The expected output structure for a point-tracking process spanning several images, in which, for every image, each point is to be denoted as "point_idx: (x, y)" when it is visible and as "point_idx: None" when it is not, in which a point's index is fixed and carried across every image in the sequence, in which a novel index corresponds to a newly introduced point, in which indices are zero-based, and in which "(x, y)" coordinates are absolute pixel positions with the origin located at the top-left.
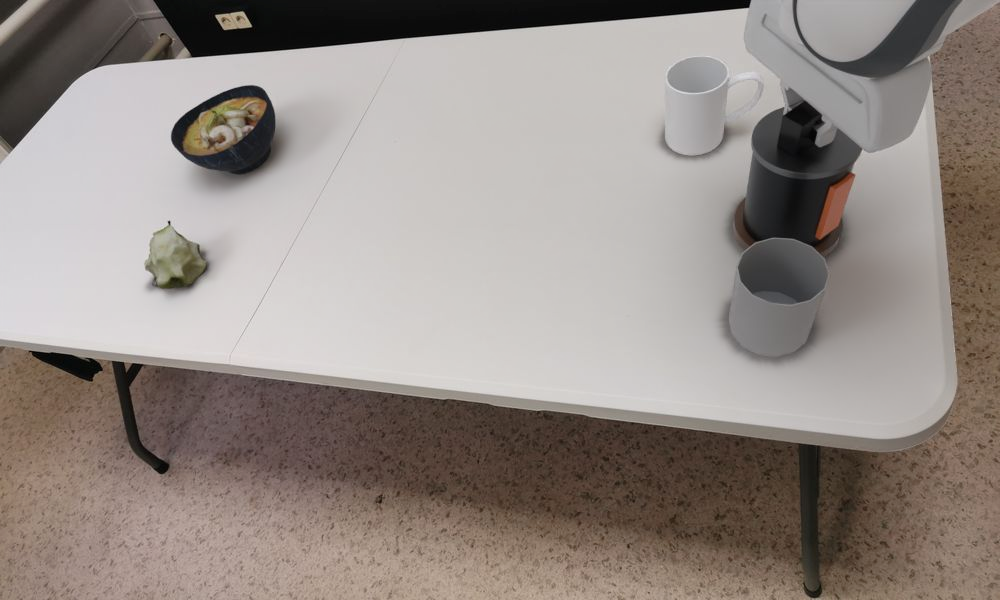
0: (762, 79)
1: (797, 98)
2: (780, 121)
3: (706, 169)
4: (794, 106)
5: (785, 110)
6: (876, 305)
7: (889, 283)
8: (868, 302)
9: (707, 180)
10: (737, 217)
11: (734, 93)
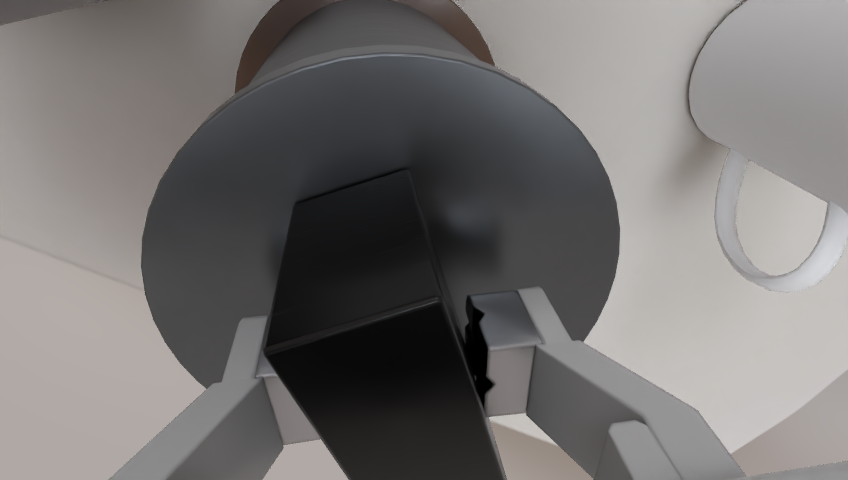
0: (768, 289)
1: (547, 403)
2: (544, 257)
3: (649, 38)
4: (517, 364)
5: (541, 313)
6: (84, 164)
7: (143, 215)
8: (95, 154)
9: (617, 19)
10: (441, 5)
11: (778, 219)
